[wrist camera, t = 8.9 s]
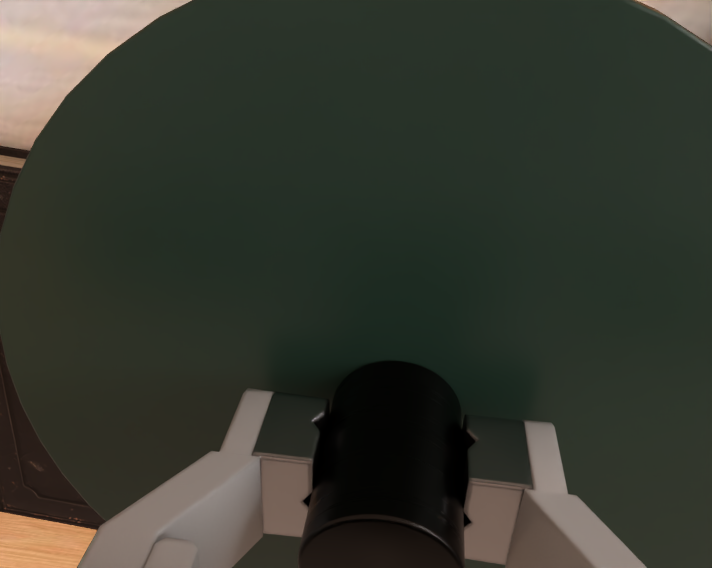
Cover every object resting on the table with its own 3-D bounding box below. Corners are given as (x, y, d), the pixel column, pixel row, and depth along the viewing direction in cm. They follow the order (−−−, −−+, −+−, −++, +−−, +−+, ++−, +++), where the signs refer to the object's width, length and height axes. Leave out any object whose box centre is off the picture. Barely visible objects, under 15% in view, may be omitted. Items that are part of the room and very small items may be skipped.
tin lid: (1022, -23, 9) (1497, 53, 5) (680, 643, 17) (752, 880, 13) (-67, -85, 10) (-407, -65, 6) (95, 563, 18) (-6, 756, 14)
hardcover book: (10, 481, 42) (-11, 510, 40) (-64, 134, 30) (-100, 151, 28) (256, 527, 42) (246, 558, 40) (279, 191, 30) (267, 212, 28)
